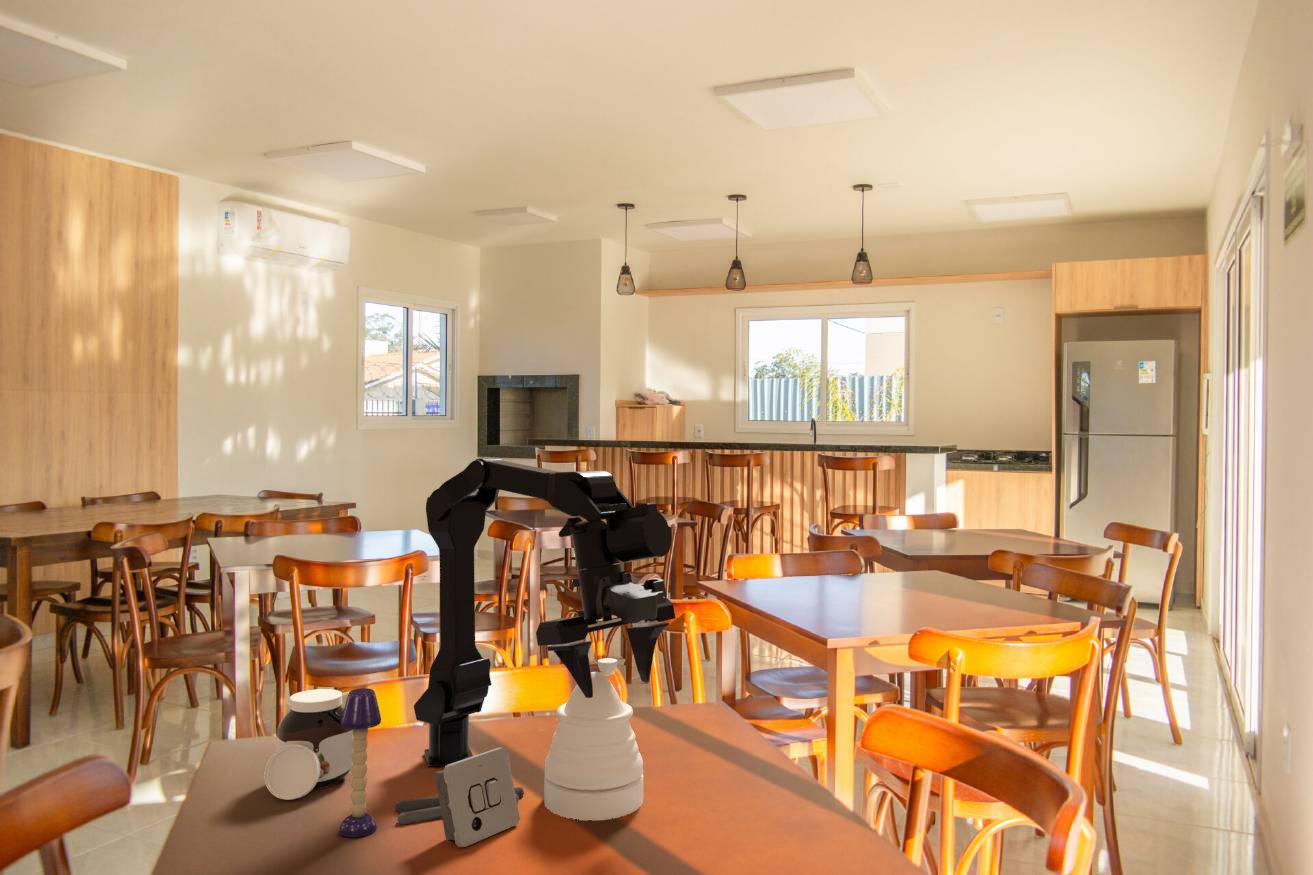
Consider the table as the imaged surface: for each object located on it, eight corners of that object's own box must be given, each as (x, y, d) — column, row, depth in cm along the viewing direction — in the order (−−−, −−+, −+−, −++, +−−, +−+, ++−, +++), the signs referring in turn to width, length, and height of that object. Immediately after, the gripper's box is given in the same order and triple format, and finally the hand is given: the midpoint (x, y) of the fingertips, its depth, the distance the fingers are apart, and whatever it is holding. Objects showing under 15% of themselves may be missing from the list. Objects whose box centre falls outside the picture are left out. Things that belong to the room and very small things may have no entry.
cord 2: (396, 823, 115) (396, 811, 115) (516, 801, 122) (516, 790, 122) (399, 827, 114) (399, 815, 114) (520, 805, 121) (520, 794, 121)
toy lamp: (345, 821, 115) (345, 685, 115) (383, 820, 116) (384, 684, 115) (335, 838, 110) (336, 696, 110) (376, 837, 111) (376, 695, 111)
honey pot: (613, 776, 131) (614, 647, 131) (661, 807, 120) (662, 666, 120) (528, 793, 125) (528, 658, 125) (570, 828, 114) (571, 679, 114)
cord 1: (394, 810, 119) (394, 799, 119) (522, 795, 125) (522, 784, 125) (395, 814, 118) (395, 803, 118) (524, 798, 123) (524, 788, 123)
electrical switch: (460, 851, 107) (456, 768, 108) (432, 843, 110) (428, 763, 111) (521, 825, 115) (517, 747, 115) (493, 818, 118) (488, 743, 118)
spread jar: (348, 765, 135) (349, 684, 135) (363, 792, 125) (364, 704, 125) (258, 779, 129) (258, 694, 129) (266, 808, 119) (266, 716, 119)
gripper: (577, 571, 109) (598, 707, 107) (693, 551, 121) (713, 673, 120) (525, 579, 117) (544, 706, 115) (639, 560, 130) (657, 674, 128)
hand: (618, 689), depth 119 cm, fingers open, 9 cm apart
